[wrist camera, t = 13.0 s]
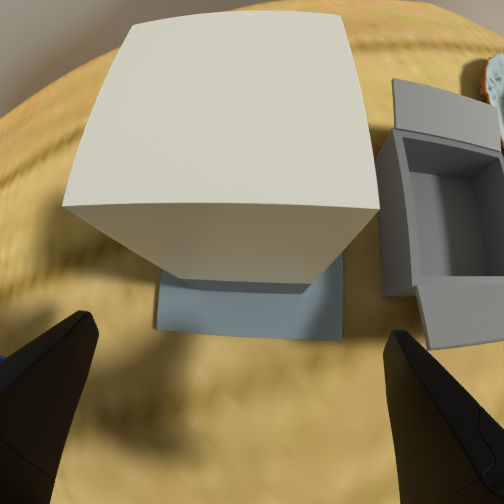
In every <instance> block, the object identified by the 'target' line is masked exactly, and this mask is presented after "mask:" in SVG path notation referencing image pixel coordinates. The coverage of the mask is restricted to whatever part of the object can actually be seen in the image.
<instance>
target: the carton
mask: <svg viewBox="0 0 504 504" xmlns="http://www.w3.org/2000/svg"><path fill="white" fill-rule="evenodd" d="M392 92H393V108H394V128H392V129H391V131H390V133H389V135H388V137H387V139H386V140H385V142H384V144H383V146H382V148H381V149H380V151H379V153H378V155H377V156H376V158H375V160H374V164H375V171H376V179H377V187H378V196H379V205H380V210H379V211H378V220H379V233H380V249H381V273H382V297H412V296H416V297H417V301H418V306H419V310H420V315H421V320H422V325H423V330H424V335H425V341H426V347H427V351H430V350H440V349H449V348H458V347H465V346H473V345H480V344H486V343H493V342H499V341H504V158H503V155H502V152H501V139H500V126H499V116H498V108H497V107H494V106H492V105H489V104H486V103H483V102H481V101H478V100H475V99H472V98H469V97H466V96H462V95H459V94H456V93H453V92H449V91H446V90H442V89H438V88H434V87H431V86H427V85H423V84H418V83H414V82H410V81H405V80H400V79H395V78H393V79H392Z"/></svg>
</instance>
